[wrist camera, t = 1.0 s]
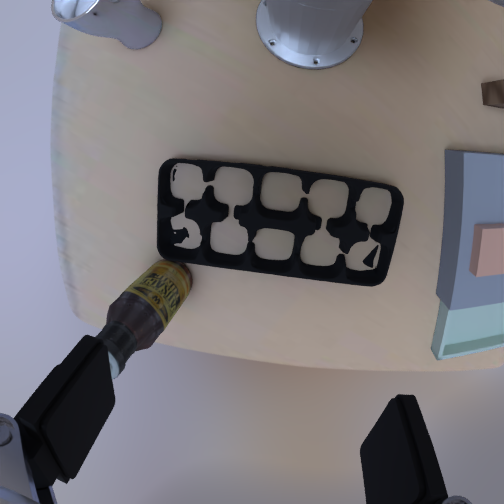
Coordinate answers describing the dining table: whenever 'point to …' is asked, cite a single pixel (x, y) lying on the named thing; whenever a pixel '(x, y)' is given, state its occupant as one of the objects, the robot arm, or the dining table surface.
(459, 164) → the board
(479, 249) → the tile
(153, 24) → the beer glass
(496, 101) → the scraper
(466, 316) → the tray
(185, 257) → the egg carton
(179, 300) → the sauce bottle
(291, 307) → the dining table surface
